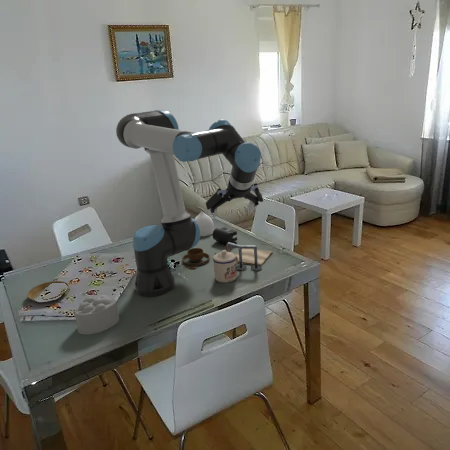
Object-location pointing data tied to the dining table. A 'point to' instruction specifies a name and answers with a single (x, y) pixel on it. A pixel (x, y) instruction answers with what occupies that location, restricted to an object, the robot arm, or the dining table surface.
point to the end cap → (224, 235)
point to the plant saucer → (40, 288)
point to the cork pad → (249, 256)
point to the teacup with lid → (225, 266)
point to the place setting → (196, 257)
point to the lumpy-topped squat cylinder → (96, 314)
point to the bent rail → (241, 267)
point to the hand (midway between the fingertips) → (231, 212)
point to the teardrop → (204, 224)
